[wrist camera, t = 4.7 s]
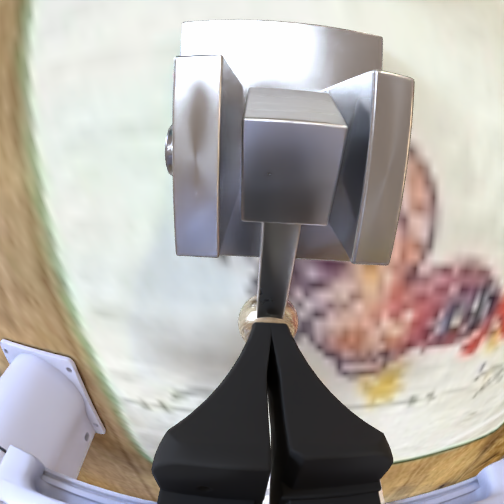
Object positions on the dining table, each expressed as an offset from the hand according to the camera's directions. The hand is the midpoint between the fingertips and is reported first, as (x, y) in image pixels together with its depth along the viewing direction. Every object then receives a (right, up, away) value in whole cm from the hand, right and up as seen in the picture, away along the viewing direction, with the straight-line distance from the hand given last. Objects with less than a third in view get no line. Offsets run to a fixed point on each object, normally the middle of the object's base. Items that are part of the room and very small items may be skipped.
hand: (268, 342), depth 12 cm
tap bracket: (0, +8, 0) cm, 8 cm away
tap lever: (0, +4, -1) cm, 4 cm away
